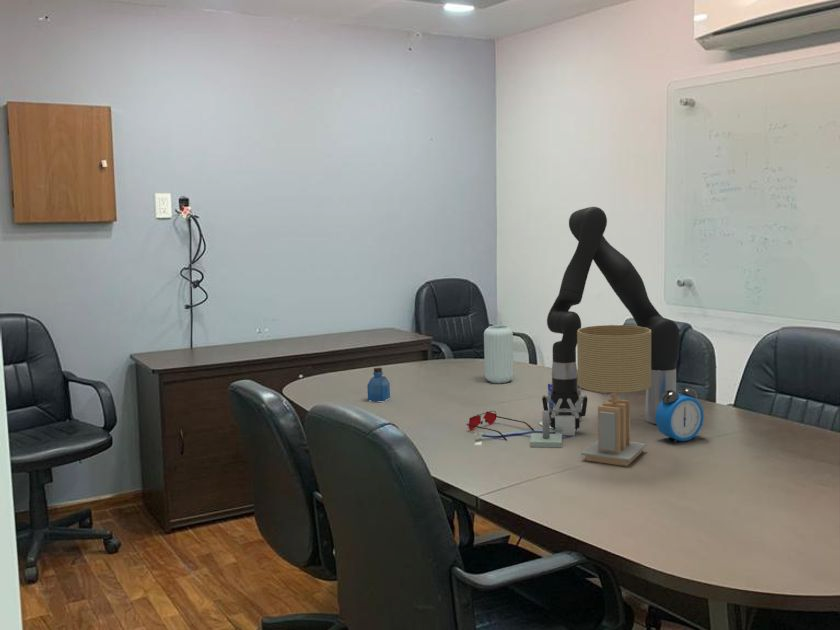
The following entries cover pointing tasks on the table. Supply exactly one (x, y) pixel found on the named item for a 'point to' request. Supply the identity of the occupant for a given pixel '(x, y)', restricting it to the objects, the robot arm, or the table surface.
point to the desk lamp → (614, 384)
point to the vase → (498, 354)
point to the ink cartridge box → (551, 405)
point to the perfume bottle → (378, 386)
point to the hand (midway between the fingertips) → (565, 429)
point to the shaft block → (546, 435)
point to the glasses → (490, 419)
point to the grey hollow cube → (565, 423)
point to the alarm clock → (679, 414)
